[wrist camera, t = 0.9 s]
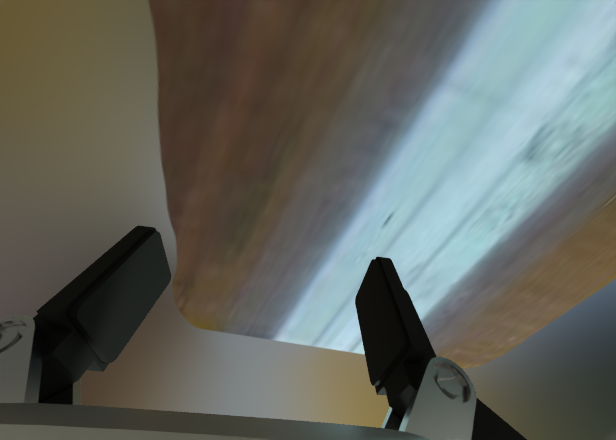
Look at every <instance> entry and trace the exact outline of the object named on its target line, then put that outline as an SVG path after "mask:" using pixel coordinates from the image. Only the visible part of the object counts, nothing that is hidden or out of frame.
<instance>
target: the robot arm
mask: <svg viewBox="0 0 616 440" xmlns="http://www.w3.org/2000/svg"><path fill="white" fill-rule="evenodd" d="M170 279H171V273H170V269H169V265H168V261H167V258H166V255H165V250H164V247H163V243H162V239H161V235H160V233H159V232H157V231H156V229H155V228H153V227H145V226H137V227H135V228H134V229H133V230H132V231H130V232H129V233H128V234H127V235H126V236H124V237H123V238H122V239H121V240H120V241H119V242H118V243H116V244H115V245H114V246H113V247H112V248H110V249H109V250H108V251H107V252H106V253H104V254H103V255H102V256H101V257H100V258H99V259H97V260H96V261H95V262H94V263H93V264H92V265H90V266H89V267H88V268H87V269H86V270H85V271H83V272H82V273H81V274H80V275H79V276H77V277H76V278H75V279H74V280H73V281H72V282H70V283H69V284H68V285H67V286H66V287H64V288H63V289H62V290H61V291H60V292H59V293H57V294H56V295H55V296H54V297H53V298H52V299H50V300H49V301H48V302H47V303H46V304H44V306H42V307H41V308H40V309H39V310H38V311H37V313H38V315H37V316H35V317H34V318H33V319H32V318H31V317H28V316H12V317H8V318H4V319H0V440H527V439H525V438H524V437H523V436H522V435H521V434H519V433H518V432H517V431H515V429H513V428H512V427H511V426H510V425H509V424H508V423H506V422H505V421H504V420H503V419H502V418H500V417H499V416H498V415H497V414H496V413H494V412H493V411H492V410H491V409H490V408H488V407H487V406H486V405H485V404H483V403H482V402H481V401H480V400H479V399H478V398H476V391H475V388H474V385H473V383H472V382H471V381H470V378H469V377H468V375H467V374H466V373H465V372H464V371H463V369H461V368H460V367H459V366H458V365H457V364H456V363H454V362H452V361H451V360H449V359H447V358H443V357H436V355H435V352H434V350H433V348H432V346H431V343H430V341H429V339H428V337H427V334H426V332H425V330H424V328H423V325H422V323H421V321H420V319H419V316H418V314H417V312H416V310H415V307H414V305H413V303H412V301H411V298H410V296H409V294H408V292H407V291H406V290H404V288H403V285H402V283H401V281H400V279H399V276H398V274H397V272H396V269H395V267H394V265H393V262H392V260H391V259H390V258H383V257H376V259H375V260H374V259H373V260H372V261H371V263H370V265H369V267H368V270H367V272H366V274H365V277H364V279H363V281H362V284H361V286H360V288H359V291H358V293H357V295H356V300H355V304H356V309H357V314H358V320H359V325H360V330H361V335H362V341H363V346H364V351H365V356H366V361H367V367H368V372H369V377H370V382H371V384H372V385H373V386H375V388H376V393H377V395H387V398H388V402H389V406H390V408H389V411H388V414H387V415H386V418H385V420H384V422H383V425H382V427H381V428H375V427H364V426H355V425H344V424H334V423H321V422H308V421H295V420H282V419H270V418H256V417H243V416H229V415H216V414H202V413H188V412H173V411H159V410H145V409H131V408H115V407H100V406H86V405H80V378H81V376H82V375H83V374H84V372H85V371H86V370H91V371H104V370H105V368H106V367H107V365H108V364H109V363H111V362H113V361H114V360H116V358H117V357H118V356H119V354H120V353H121V351H122V350H123V349H124V347H125V346H126V344H127V343H128V341H129V340H130V339H131V337H132V336H133V334H134V333H135V331H136V330H137V328H138V327H139V326H140V324H141V323H142V321H143V320H144V318H145V317H146V315H147V314H148V312H149V311H150V310H151V308H152V307H153V305H154V304H155V302H156V301H157V299H158V298H159V297H160V295H161V294H162V292H163V291H164V290H165V288H166V287H167V285H168V284H169V282H170Z"/></svg>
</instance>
